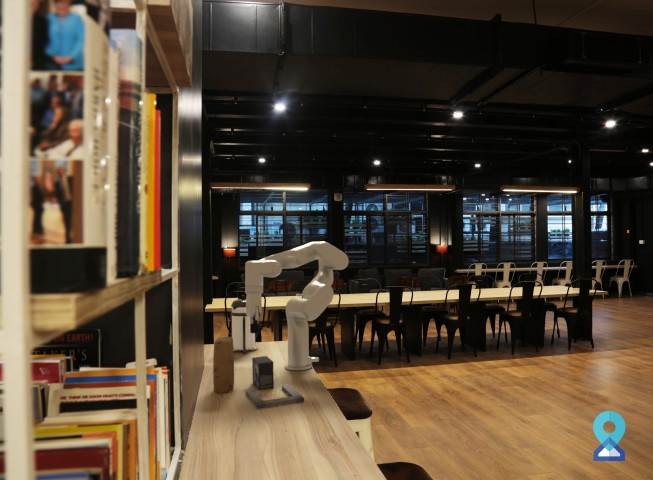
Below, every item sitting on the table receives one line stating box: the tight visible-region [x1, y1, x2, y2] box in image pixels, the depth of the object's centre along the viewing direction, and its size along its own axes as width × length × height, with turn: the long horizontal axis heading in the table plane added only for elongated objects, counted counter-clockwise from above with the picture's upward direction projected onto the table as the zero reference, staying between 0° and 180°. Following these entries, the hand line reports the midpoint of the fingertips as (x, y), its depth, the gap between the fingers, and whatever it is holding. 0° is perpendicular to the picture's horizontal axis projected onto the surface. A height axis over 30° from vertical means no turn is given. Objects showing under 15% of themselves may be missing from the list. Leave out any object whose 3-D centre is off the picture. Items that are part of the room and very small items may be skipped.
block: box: [212, 336, 235, 394], centre depth 174 cm, size 11×8×20 cm
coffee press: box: [230, 294, 260, 355], centre depth 242 cm, size 17×16×30 cm
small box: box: [251, 355, 275, 391], centre depth 179 cm, size 11×6×10 cm, turn 23°
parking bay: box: [245, 384, 305, 410], centre depth 164 cm, size 17×17×2 cm
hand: (254, 332), depth 191 cm, fingers closed
